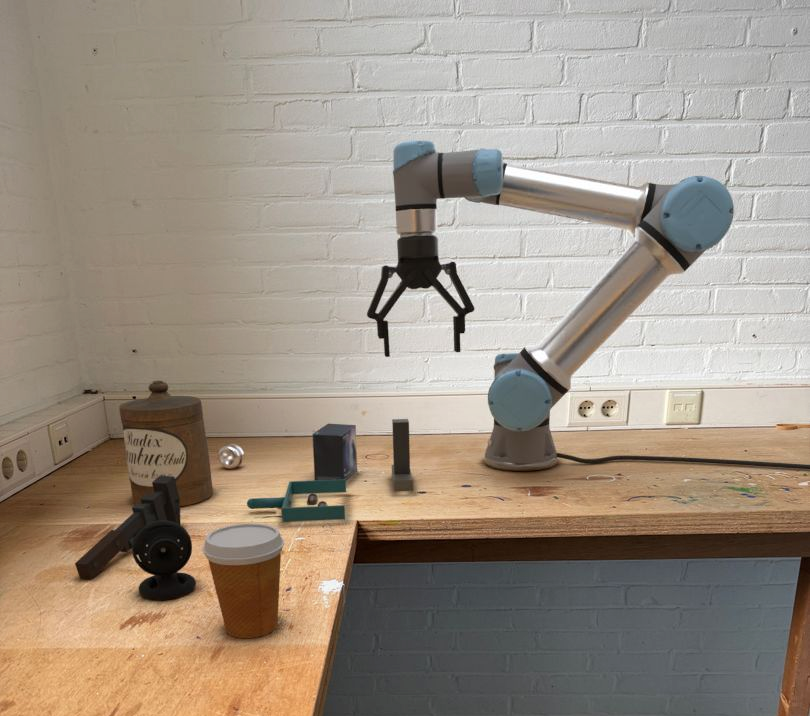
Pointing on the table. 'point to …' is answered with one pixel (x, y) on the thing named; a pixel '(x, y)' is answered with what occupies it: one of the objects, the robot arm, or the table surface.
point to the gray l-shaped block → (401, 456)
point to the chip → (312, 499)
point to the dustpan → (305, 512)
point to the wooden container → (166, 444)
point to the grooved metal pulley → (226, 456)
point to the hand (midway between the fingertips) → (422, 354)
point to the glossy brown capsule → (322, 503)
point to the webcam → (163, 559)
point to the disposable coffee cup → (246, 576)
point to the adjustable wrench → (133, 526)
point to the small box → (335, 452)
